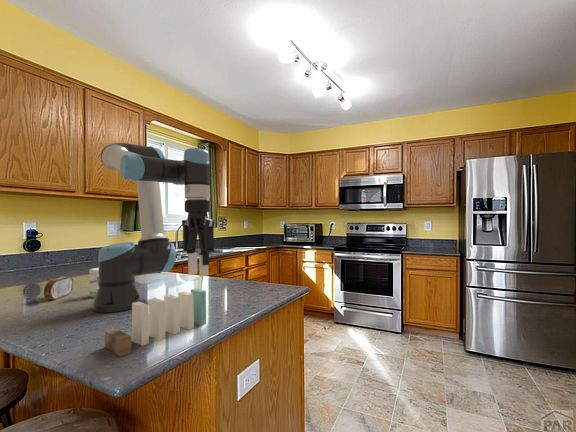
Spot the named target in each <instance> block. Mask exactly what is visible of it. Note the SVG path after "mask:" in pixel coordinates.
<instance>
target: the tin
mask: <svg viewBox="0 0 576 432" xmlns="http://www.w3.org/2000/svg"><path fill="white" fill-rule="evenodd" d="M73 286H74V279H73V278H72V277H71V276H65V275H64V276H63V275H62V276H59V277H56V278H52V279H51V278H50V279H49V280H48V281H47V282H46V284H45V286H44V289H43V295H44V298H45V299H46V300H47V301H50V300H51V301H53V300H54V301H55V299H56V300H58V298H59V299H61V298H63V296H64V297H66V295H67V296H68V294H69V295H70V294H71V292H72V291H73ZM60 297H61V298H60Z"/></svg>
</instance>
